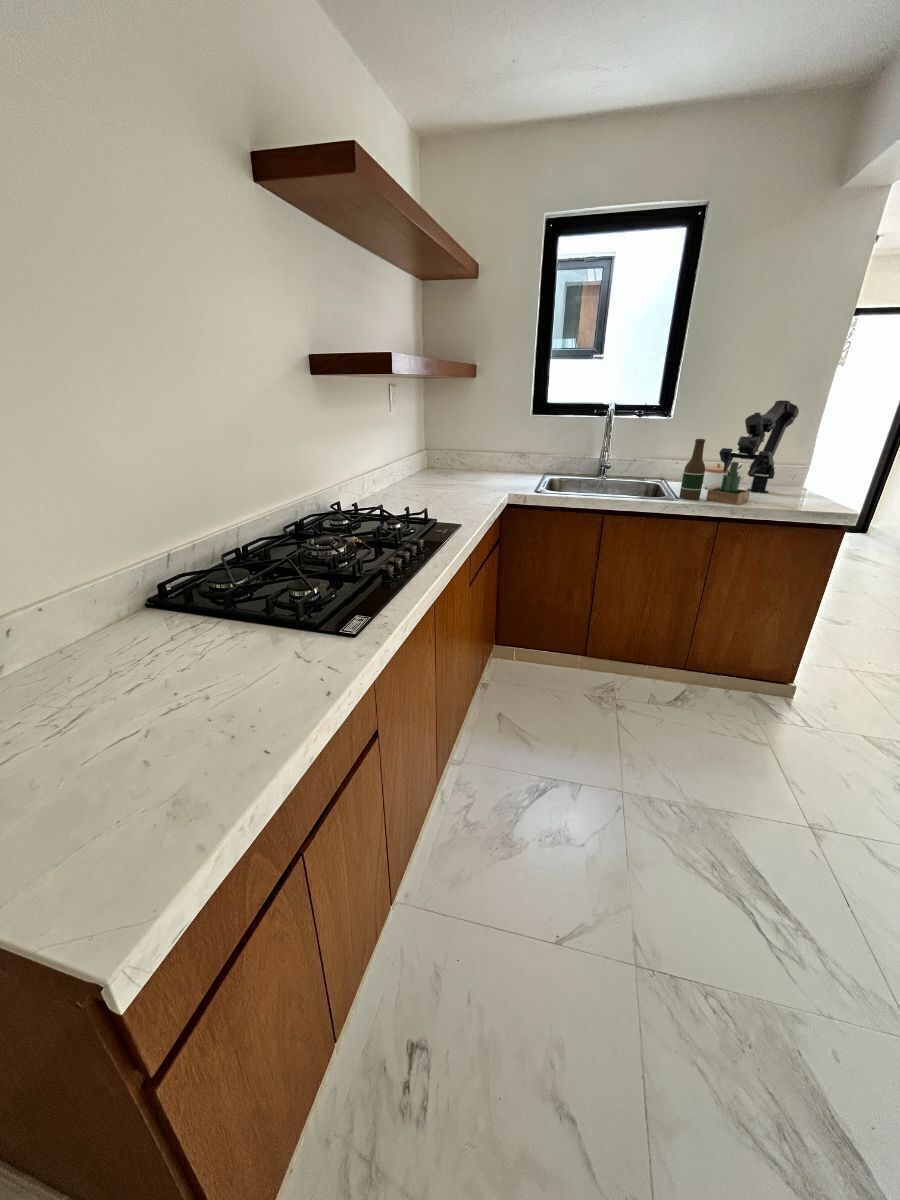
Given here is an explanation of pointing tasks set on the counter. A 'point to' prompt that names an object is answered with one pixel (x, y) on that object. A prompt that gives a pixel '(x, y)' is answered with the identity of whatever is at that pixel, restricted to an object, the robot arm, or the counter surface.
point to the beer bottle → (693, 474)
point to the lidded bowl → (713, 476)
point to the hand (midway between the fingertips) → (736, 473)
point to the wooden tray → (727, 496)
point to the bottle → (731, 480)
